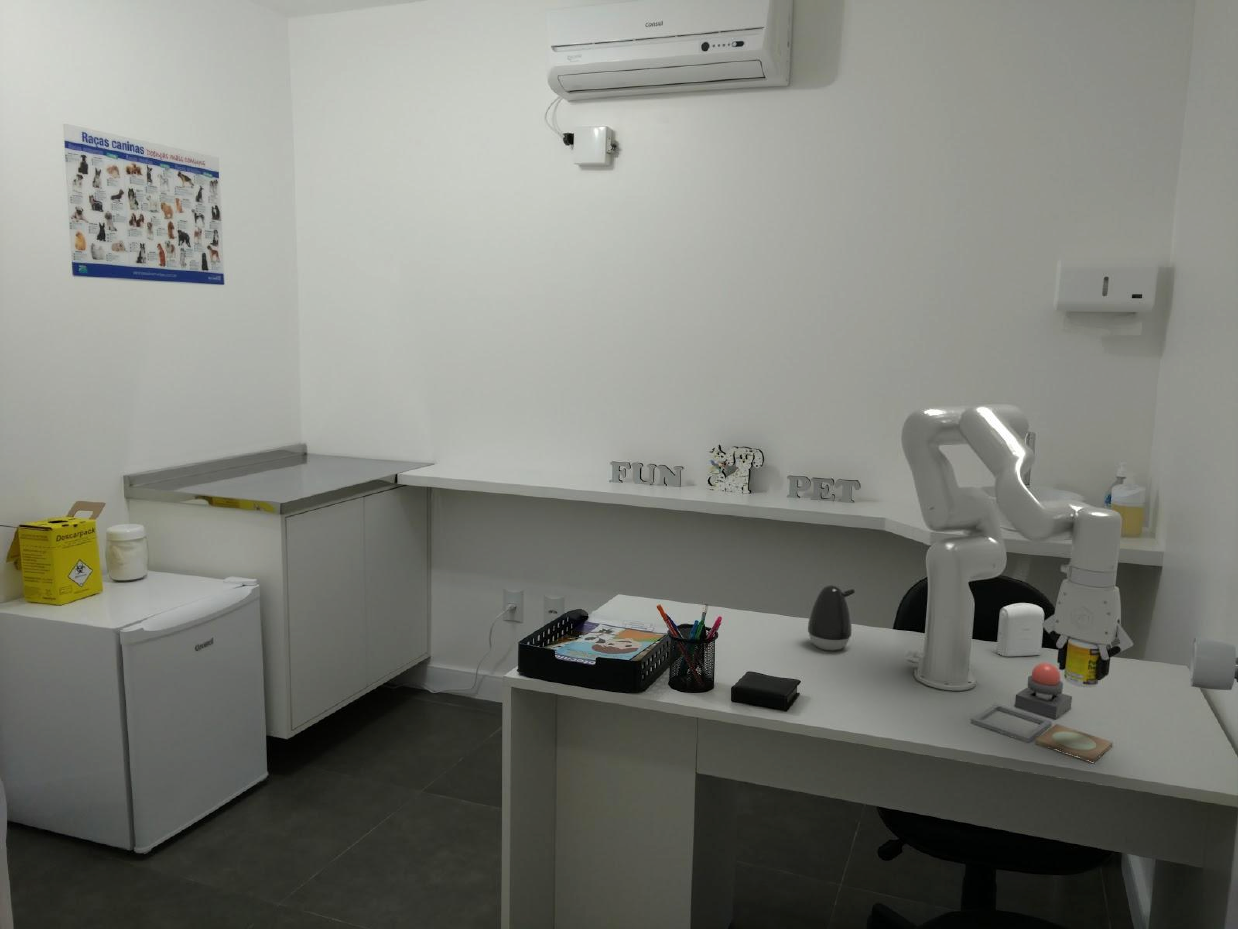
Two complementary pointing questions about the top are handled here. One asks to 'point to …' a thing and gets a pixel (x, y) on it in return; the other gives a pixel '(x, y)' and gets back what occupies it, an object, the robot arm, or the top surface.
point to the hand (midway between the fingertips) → (1082, 672)
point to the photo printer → (1020, 630)
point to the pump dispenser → (830, 619)
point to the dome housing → (1043, 703)
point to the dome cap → (1045, 681)
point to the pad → (1074, 742)
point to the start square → (1028, 737)
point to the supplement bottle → (1081, 663)
